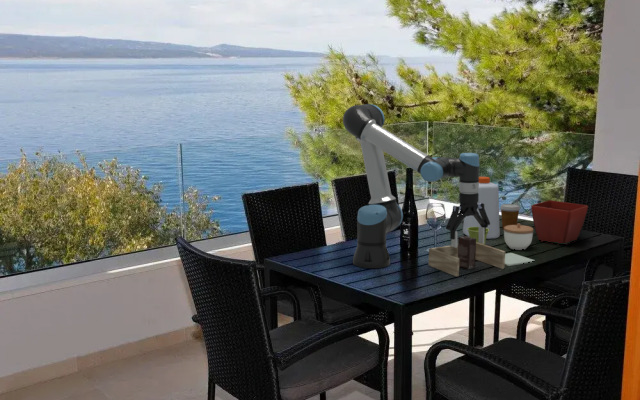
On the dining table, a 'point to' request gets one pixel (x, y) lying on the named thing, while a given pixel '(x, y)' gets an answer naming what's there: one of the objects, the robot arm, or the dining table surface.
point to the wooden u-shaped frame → (449, 259)
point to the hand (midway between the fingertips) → (467, 245)
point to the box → (466, 252)
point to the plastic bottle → (486, 208)
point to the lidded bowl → (518, 236)
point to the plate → (515, 259)
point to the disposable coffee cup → (509, 214)
